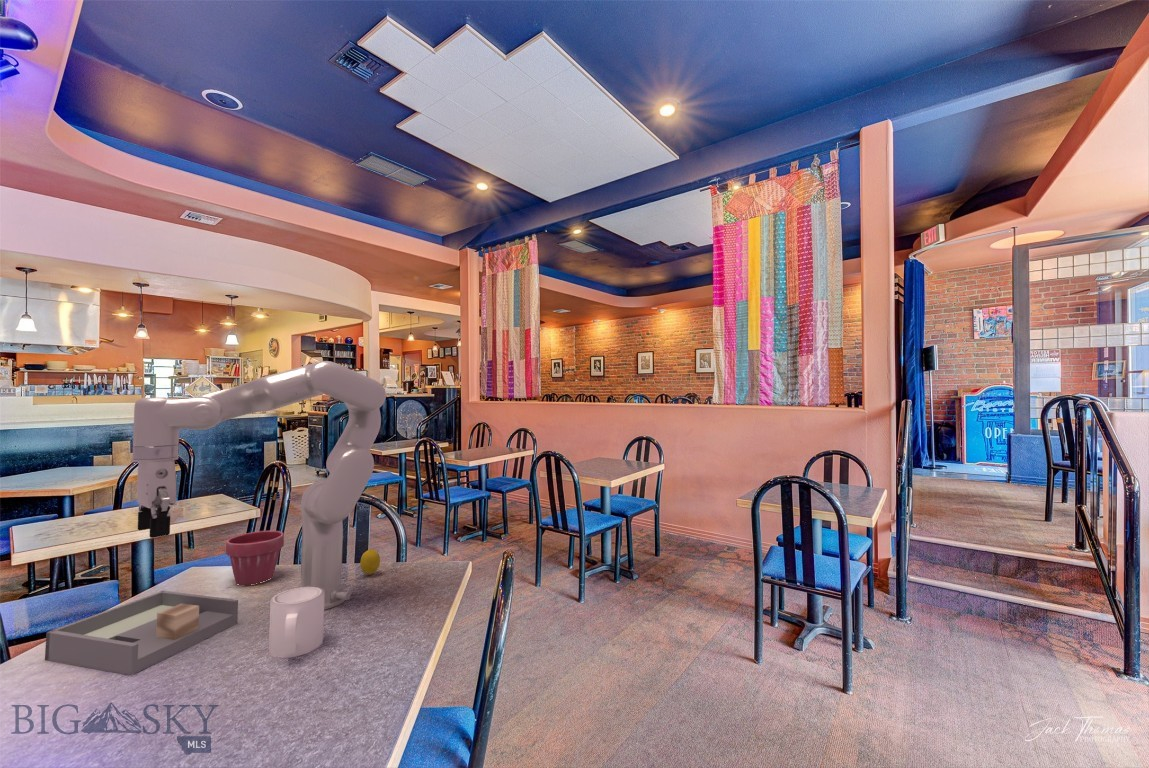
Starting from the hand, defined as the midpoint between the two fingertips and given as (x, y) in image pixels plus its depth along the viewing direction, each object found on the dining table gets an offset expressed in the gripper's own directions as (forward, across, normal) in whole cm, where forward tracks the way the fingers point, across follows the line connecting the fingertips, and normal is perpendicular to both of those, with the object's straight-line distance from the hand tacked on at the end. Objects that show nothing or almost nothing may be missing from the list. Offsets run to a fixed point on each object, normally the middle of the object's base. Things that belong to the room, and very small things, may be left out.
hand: (153, 532), depth 102 cm
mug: (+24, -26, -18) cm, 40 cm away
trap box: (+24, +2, 0) cm, 24 cm away
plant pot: (+24, +24, -28) cm, 44 cm away
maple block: (+22, -5, -4) cm, 22 cm away
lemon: (+25, +1, -51) cm, 57 cm away
